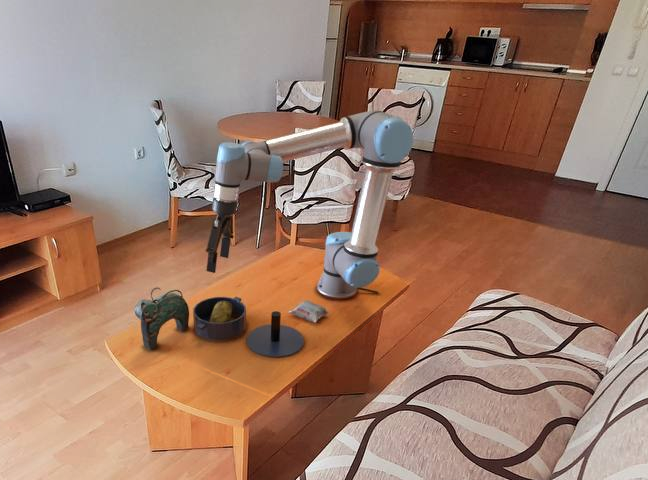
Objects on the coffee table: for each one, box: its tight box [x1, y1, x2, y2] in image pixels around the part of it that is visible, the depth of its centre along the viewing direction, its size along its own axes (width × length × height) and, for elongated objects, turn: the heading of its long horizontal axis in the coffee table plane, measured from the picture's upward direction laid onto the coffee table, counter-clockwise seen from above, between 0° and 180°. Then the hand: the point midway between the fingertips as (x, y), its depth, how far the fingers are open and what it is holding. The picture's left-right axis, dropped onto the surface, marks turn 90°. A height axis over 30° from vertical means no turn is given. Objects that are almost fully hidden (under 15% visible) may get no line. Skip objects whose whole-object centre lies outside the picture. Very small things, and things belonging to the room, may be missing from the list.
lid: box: [246, 310, 305, 359], centre depth 163 cm, size 19×19×11 cm
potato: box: [210, 301, 232, 323], centre depth 172 cm, size 8×13×8 cm, turn 146°
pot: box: [192, 296, 247, 341], centre depth 173 cm, size 18×23×7 cm
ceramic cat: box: [134, 286, 190, 351], centre depth 164 cm, size 20×6×20 cm, turn 137°
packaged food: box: [288, 300, 330, 323], centre depth 178 cm, size 9×12×5 cm
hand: (217, 264), depth 162 cm, fingers open, 13 cm apart
